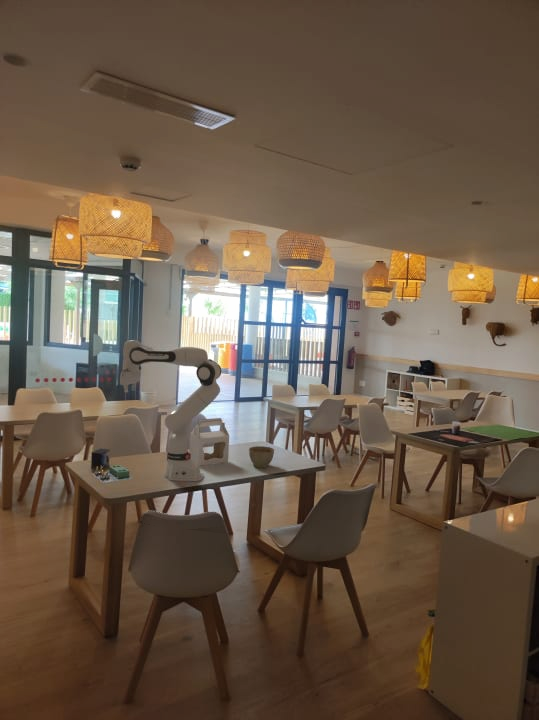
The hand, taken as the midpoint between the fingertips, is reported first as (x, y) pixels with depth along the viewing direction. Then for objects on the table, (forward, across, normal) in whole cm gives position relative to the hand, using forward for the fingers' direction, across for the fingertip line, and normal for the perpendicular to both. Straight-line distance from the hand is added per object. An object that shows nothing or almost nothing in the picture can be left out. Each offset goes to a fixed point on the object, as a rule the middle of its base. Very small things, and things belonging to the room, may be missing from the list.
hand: (129, 391), depth 300 cm
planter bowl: (+48, +37, -73) cm, 95 cm away
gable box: (+48, +36, -39) cm, 71 cm away
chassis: (+47, -15, +3) cm, 50 cm away
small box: (+47, 0, +17) cm, 50 cm away
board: (+46, -10, 0) cm, 47 cm away
